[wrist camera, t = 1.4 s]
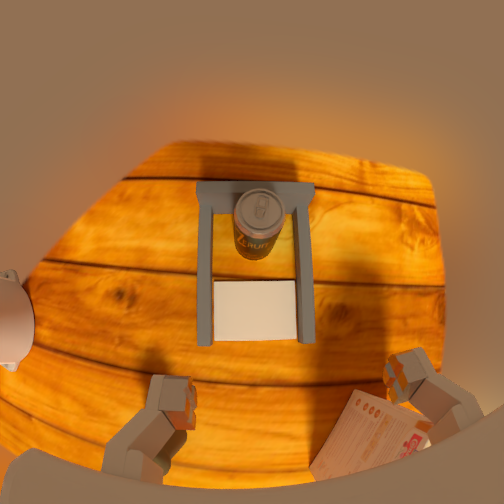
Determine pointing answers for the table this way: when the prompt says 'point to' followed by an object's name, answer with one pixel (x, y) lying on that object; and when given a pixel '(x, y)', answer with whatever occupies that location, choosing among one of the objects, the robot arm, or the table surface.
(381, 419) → the coffeecake box
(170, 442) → the cork
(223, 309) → the bay
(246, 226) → the beer can
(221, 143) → the table surface
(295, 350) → the table surface
